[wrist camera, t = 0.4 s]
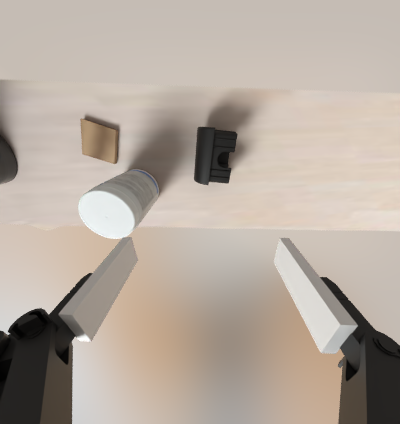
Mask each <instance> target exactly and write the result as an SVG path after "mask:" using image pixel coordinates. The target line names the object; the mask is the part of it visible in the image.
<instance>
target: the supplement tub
mask: <svg viewBox="0 0 400 424" xmlns="http://www.w3.org/2000/svg"><path fill="white" fill-rule="evenodd" d="M158 196H159V187H158V184H157V182H156V180H155V179H154V177H153V176H152V175H151V174H149V173H148V172H146V171H144V170H140V169H132V170H129V171H127V172H125V173H123V174H120V175H118V176H116V177H114V178H112V179H110V180H108V181H106V182H104V183H102V184H100V185H98V186H96V187H94V188H92V189H91V190H89V191H88V192H87V193H85V194H84V195H83V196H82V197H81V199H80V201H79V204H78V210H79V214H80V217H81V219H82V220H83V222H84V223H85V224H86V225H87V226H88V228H90V229H91V230H92V231H94V232H95V233H97V234H99V235H101V236H103V237H107V238H112V239H119V238H123V237H126V236H128V235H129V234H130V233H131V232H132V231H133V230H135V228H136V227H137V226H138V225H139V223H140V222H141V221H142V219H143V218H144V217H145V215H146V214H147V212H148V211H149V210H150V208H151V207H152V206H153V204H154V203H155V201H156V200H157V198H158Z"/></svg>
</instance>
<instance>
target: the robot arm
mask: <svg viewBox="0 0 400 424" xmlns="http://www.w3.org/2000/svg"><path fill="white" fill-rule="evenodd" d="M16 172H17V164H16V160H15V157H14V155H13V153H12V151H11V149H10V147H9V146H8V144H7V143H6V142H5V140H4V139H3V138H2V137H1V136H0V184H3V183H7V182H9V181H11V180H12V179H13V178H14V177H15V175H16ZM137 261H138V258H137V255H136V251H135V248H134V245H133V241H132V238H131V237H127V238H126V237H123V238H122V240H121V241H120V242H119V243H118V244H117V246H116V247H115V248H114V249H113V250H112V251H111V253H110V254H109V255H108V256H107V257H106V258H105V260H104V261H103V262H102V263H101V265H100V266H99V267H98V268H97V269H96V270H95V271H94V273H89V274H87V275H86V276H84V277H83V278H82V279H81V280H80V281H79V282H78V283H77V284H76V286H75V287H73V289H72V290H71V291H70V293H68V294H67V295H66V296H65V297H64V299H63V300H62V301H61V302H60V303H59V304H58V305H57V306H56V308H55V309H54V310H53V311H52V312H51V313H50V314H49V315H48V314H47V312H46V311H45V310H43V309H41V308H40V309H34V310H32V311H29V312H27V313H26V314H24V315H23V316H21V317H20V318H18V319H17V320H16V321H15V322H14V323H13V324H12V325H11V326H10V328H9V330H8V332H9V333H10V335H7V334H5V333H4V332H3V331H0V424H72V361H73V359H72V357H73V352H72V351H73V346H72V340H73V339H74V337H75V336H76V338H77V339H78V340H79V341H89V342H90V341H92V340H93V338H94V336H95V334H96V333H97V331H98V329H99V327H100V326H101V324H102V322H103V320H104V319H105V317H106V315H107V313H108V312H109V310H110V308H111V306H112V305H113V303H114V301H115V299H116V298H117V296H118V294H119V292H120V291H121V289H122V287H123V285H124V284H125V282H126V280H127V278H128V277H129V275H130V273H131V272H132V270H133V268H134V266H135V265H136V263H137ZM274 264H275V265H276V267H277V269H278V271H279V273H280V275H281V277H282V279H283V281H284V283H285V285H286V287H287V289H288V291H289V293H290V294H291V296H292V298H293V300H294V302H295V304H296V306H297V308H298V310H299V312H300V314H301V316H302V318H303V319H304V321H305V323H306V325H307V327H308V329H309V331H310V333H311V335H312V337H313V338H314V341H315V343H316V345H317V347H318V348H319V350H320V352H321V353H333V354H335V353H337V351H338V350H339V349H341V350H342V352H343V354H344V355H345V356H344V357H343V359H342V360H341V361H340V362H339V364H338V367H340V368H341V367H342V365H343V368H342V383H341V395H340V409H339V424H400V345H398V344H397V343H396V342H395V341H394V340H393V339H391V338H390V337H388V336H387V335H385V334H383V333H381V332H378V331H376V330H375V329H374V328H373V327H372V326H371V325H370V323H368V321H367V320H366V319H365V318H364V317H363V315H362V314H361V313H360V312H359V311H358V310H357V308H356V307H355V306H354V305H353V304H352V303H351V301H349V300H348V298H347V297H346V296H345V295H344V294H343V293H342V291H341V290H340V289H339V288H338V286H337V285H336V284H335V283H333V282H332V281H331V280H329V279H328V278H327V277H319V276H318V274H317V273H316V272H315V271H314V269H313V268H312V267H311V266H310V264H309V263H308V262H307V260H306V259H305V258H304V257H303V255H302V254H301V253H300V251H299V250H298V249H297V248H296V247H295V245H294V244H293V243H292V241H291V240H290V239H289V238H280V239H279V243H278V246H277V251H276V254H275V258H274Z"/></svg>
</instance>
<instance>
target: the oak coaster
mask: <svg viewBox="0 0 400 424" xmlns="http://www.w3.org/2000/svg"><path fill="white" fill-rule="evenodd" d="M81 136H82V154H84V155H87V156H90V157H94V158H97V159H100V160H103V161H107V162H110V163H113V164H116V163H117V146H118V130H115V129H112V128H109V127H106V126H103V125H100V124H97V123H94V122H91V121H88V120H85V119H81Z"/></svg>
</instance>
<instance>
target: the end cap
mask: <svg viewBox="0 0 400 424" xmlns="http://www.w3.org/2000/svg"><path fill="white" fill-rule="evenodd" d="M236 139H237V133H236V132H232V131H221V130H215V128H211V127H198V130H197V144H196V159H195V173H194V180H195V181H196V182H198V183H200V184H204V185H208V184H209V182H218V183H229V179H230V173H231V168H228V159H229V153H230V152H234V151H235V145H236Z"/></svg>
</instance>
